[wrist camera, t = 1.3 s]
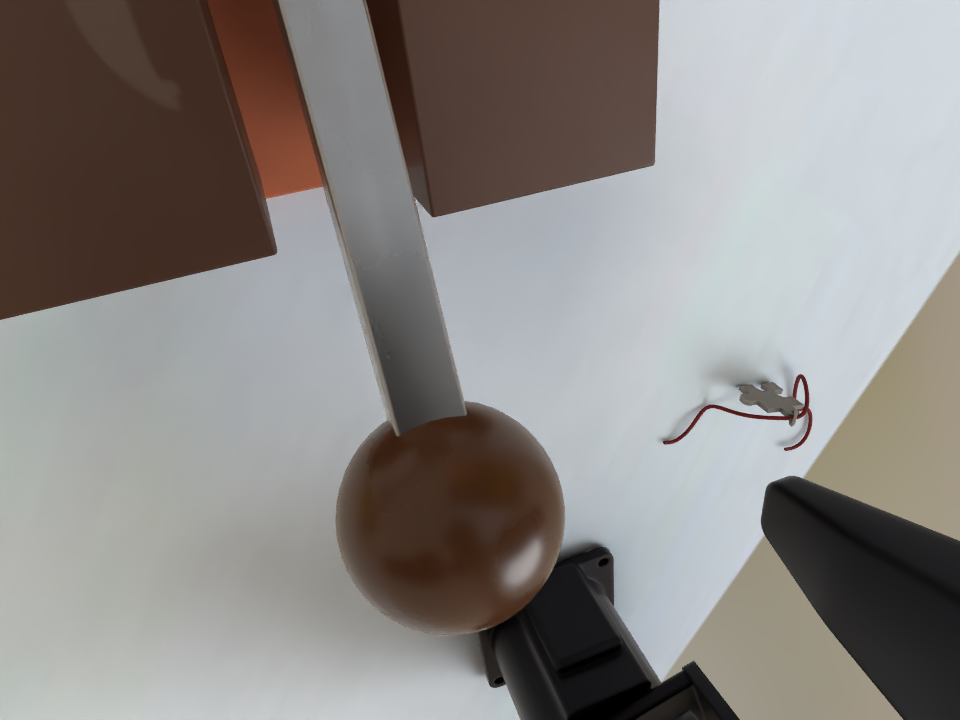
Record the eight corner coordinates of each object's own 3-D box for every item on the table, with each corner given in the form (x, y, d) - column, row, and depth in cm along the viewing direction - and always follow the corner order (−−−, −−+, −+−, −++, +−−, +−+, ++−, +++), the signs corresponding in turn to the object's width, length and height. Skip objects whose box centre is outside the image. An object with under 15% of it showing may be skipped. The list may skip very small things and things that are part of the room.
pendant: (836, 361, 28) (888, 394, 26) (801, 444, 30) (846, 481, 28) (682, 375, 26) (725, 413, 23) (655, 465, 28) (693, 507, 26)
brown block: (554, 128, 19) (667, 181, 14) (45, 237, 16) (-24, 350, 11) (541, -128, 16) (681, -170, 11) (-101, -51, 13) (-285, -62, 8)
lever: (537, 529, 13) (624, 631, 10) (359, 593, 12) (385, 730, 9) (305, -497, 9) (311, -932, 6) (25, -500, 8) (-159, -1010, 5)
